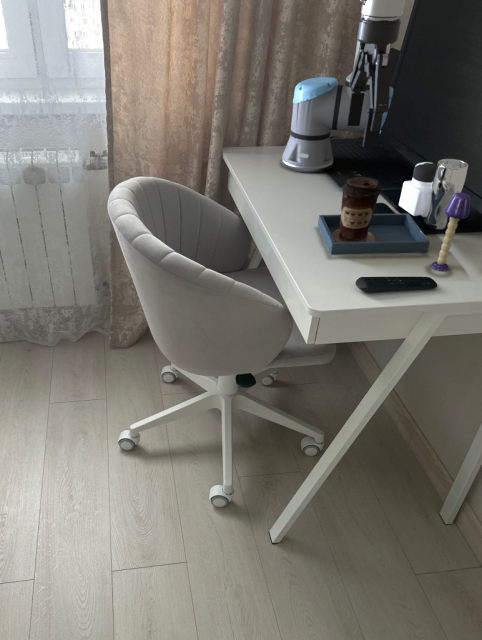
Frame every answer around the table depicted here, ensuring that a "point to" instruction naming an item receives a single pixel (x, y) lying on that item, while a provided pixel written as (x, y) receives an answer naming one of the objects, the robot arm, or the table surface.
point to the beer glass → (444, 191)
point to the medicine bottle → (418, 190)
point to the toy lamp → (452, 227)
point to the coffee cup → (358, 207)
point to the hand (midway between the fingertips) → (360, 135)
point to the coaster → (338, 239)
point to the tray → (378, 235)
